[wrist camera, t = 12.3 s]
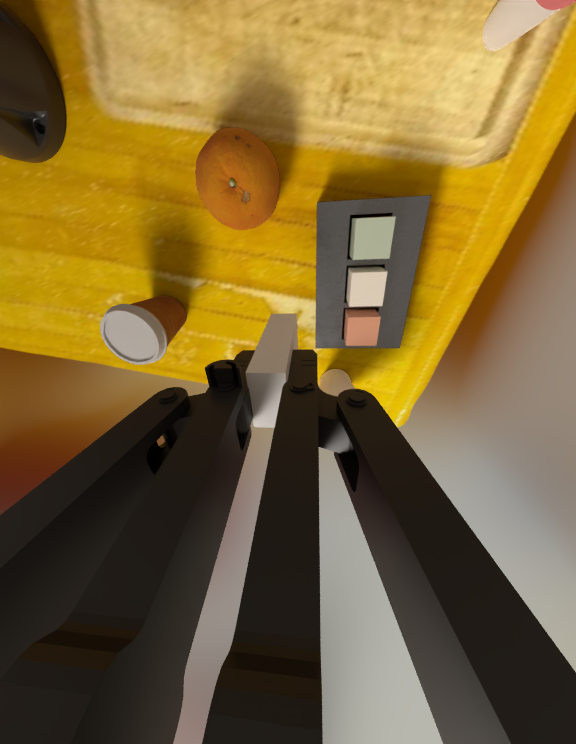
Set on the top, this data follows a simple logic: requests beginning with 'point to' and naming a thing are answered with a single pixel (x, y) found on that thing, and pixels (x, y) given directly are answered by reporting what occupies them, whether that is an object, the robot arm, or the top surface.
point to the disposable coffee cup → (142, 328)
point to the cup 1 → (335, 382)
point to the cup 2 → (517, 19)
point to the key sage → (371, 237)
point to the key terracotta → (361, 326)
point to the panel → (335, 260)
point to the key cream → (365, 285)
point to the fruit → (237, 178)
